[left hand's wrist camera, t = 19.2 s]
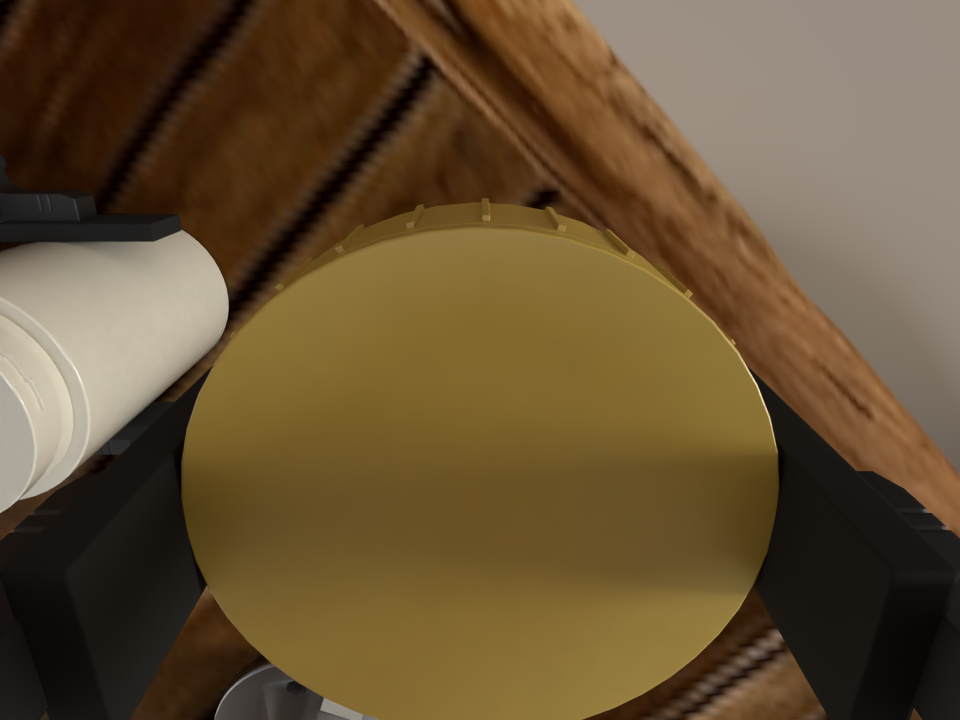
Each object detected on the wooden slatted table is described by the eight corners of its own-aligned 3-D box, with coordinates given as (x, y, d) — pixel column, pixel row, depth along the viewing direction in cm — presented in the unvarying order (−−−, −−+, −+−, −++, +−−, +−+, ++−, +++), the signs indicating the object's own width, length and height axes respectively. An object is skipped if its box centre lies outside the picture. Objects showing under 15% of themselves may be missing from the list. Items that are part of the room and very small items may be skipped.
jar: (132, 180, 33) (-149, 235, 18) (261, 299, 35) (105, 433, 21) (38, 290, 35) (-283, 419, 20) (165, 395, 38) (-39, 579, 23)
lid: (410, 695, 15) (398, 800, 12) (126, 373, 12) (42, 435, 9) (800, 518, 13) (868, 604, 11) (583, 82, 10) (613, 73, 8)
